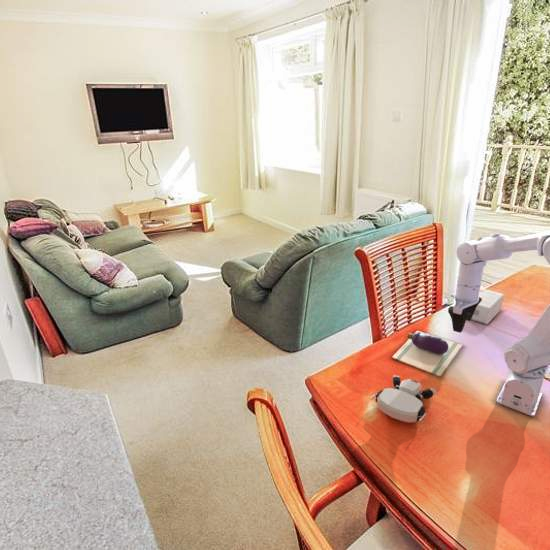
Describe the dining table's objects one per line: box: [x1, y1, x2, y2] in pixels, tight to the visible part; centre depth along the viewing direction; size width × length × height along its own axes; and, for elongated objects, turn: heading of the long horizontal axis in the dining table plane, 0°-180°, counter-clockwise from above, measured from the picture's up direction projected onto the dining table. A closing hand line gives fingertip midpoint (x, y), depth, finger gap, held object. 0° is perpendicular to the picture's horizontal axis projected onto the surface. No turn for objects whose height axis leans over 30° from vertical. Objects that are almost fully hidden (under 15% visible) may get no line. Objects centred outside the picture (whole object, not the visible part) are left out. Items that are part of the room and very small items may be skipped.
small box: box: [471, 287, 505, 325], centre depth 129 cm, size 8×6×13 cm
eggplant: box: [406, 331, 448, 354], centre depth 112 cm, size 12×5×5 cm, turn 48°
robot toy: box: [369, 374, 437, 424], centre depth 92 cm, size 12×4×15 cm
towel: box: [391, 330, 463, 378], centre depth 112 cm, size 18×14×1 cm
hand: (462, 325), depth 107 cm, fingers open, 7 cm apart
